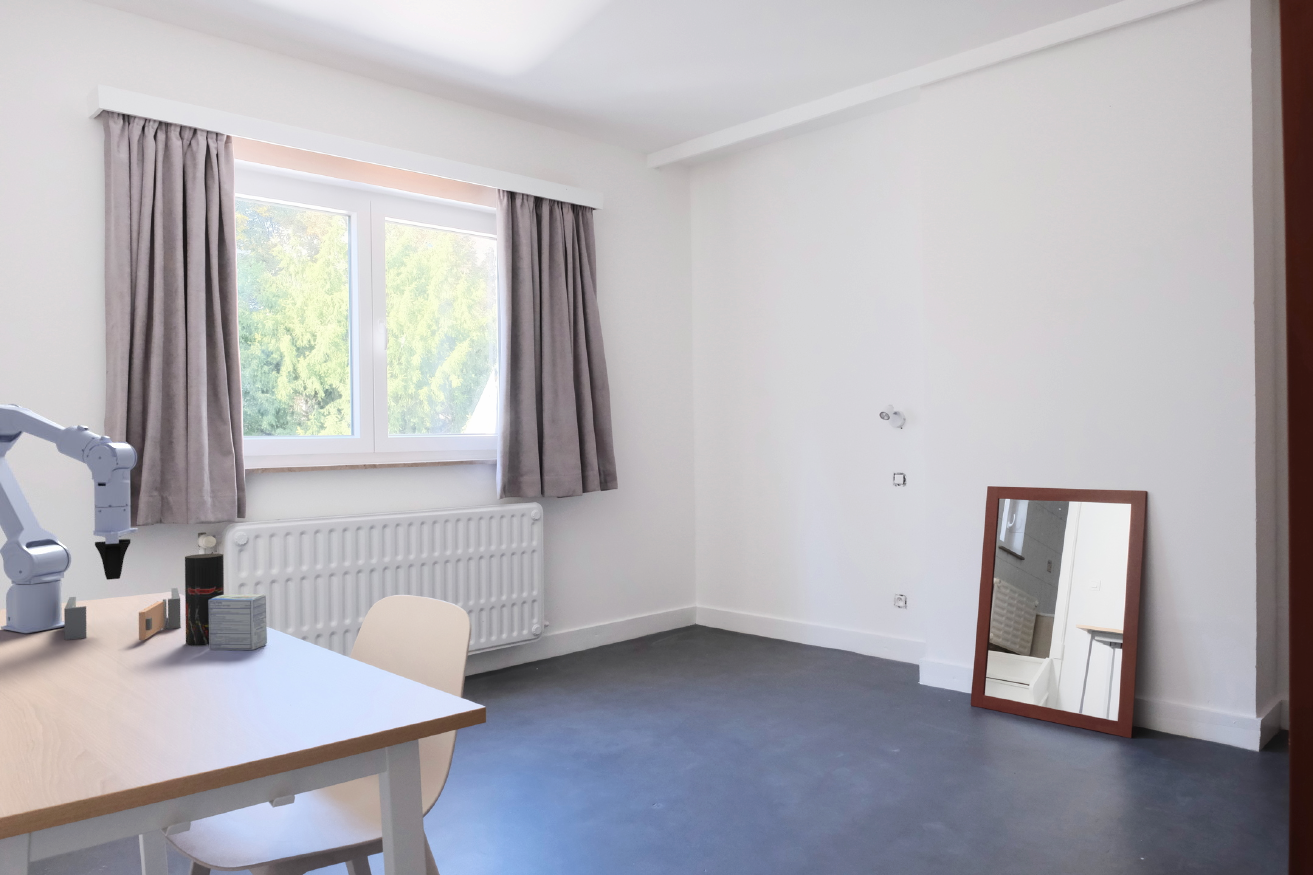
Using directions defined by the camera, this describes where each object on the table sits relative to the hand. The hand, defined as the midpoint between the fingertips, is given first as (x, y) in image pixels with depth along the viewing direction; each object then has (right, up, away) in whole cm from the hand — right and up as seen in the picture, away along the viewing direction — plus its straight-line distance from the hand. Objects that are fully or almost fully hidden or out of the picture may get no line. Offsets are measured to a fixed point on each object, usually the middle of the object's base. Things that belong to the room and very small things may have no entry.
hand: (113, 578), depth 162 cm
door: (+11, -9, -6) cm, 16 cm away
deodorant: (+23, -9, -12) cm, 28 cm away
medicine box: (+31, -9, -16) cm, 36 cm away
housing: (+1, -9, +2) cm, 10 cm away
